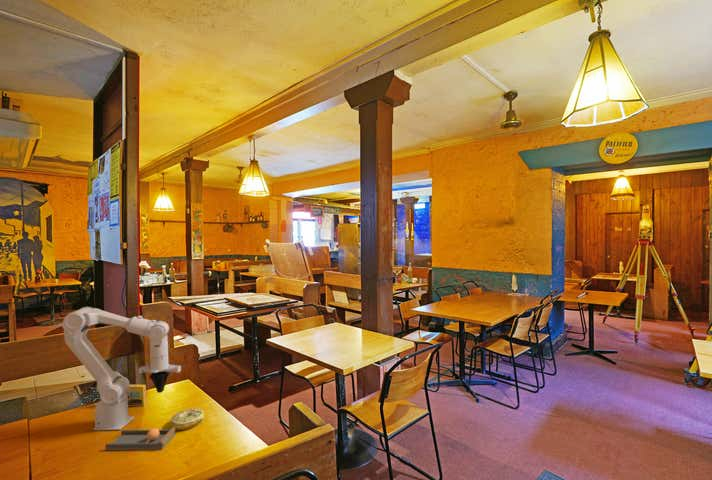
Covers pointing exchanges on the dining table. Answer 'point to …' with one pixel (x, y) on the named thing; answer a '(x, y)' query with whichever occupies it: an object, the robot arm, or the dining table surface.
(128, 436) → the lane
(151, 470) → the dining table surface
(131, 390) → the candy box
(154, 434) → the ball
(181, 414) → the decorated donut
